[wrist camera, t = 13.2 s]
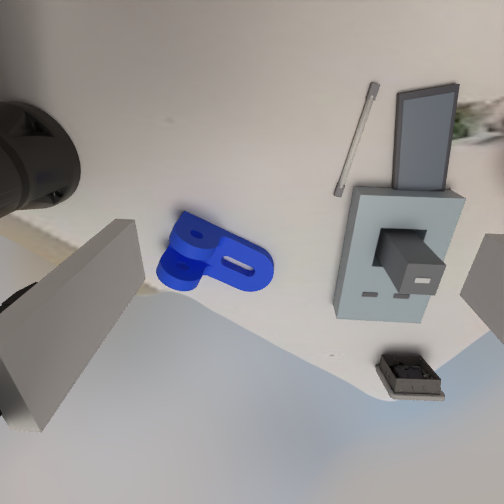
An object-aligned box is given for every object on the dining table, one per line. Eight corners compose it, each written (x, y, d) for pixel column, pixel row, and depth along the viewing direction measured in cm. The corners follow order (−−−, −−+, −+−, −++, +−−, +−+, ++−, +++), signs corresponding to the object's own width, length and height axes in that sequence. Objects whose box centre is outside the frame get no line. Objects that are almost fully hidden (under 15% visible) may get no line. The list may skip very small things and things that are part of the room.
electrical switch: (374, 367, 63) (389, 406, 54) (377, 348, 61) (394, 384, 52) (420, 369, 62) (444, 408, 54) (425, 349, 60) (450, 386, 51)
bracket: (168, 250, 53) (149, 278, 45) (184, 210, 49) (167, 234, 41) (260, 291, 56) (257, 325, 48) (282, 257, 52) (283, 287, 44)
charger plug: (372, 249, 49) (399, 294, 39) (378, 224, 47) (408, 264, 37) (400, 250, 49) (435, 296, 38) (408, 225, 47) (447, 266, 36)
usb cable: (340, 195, 46) (341, 197, 45) (333, 194, 46) (334, 196, 45) (378, 84, 39) (380, 84, 38) (370, 82, 39) (372, 82, 38)
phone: (391, 197, 45) (393, 200, 44) (396, 93, 39) (399, 94, 38) (441, 191, 44) (444, 193, 44) (455, 83, 38) (460, 83, 37)
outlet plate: (332, 304, 56) (336, 319, 52) (353, 186, 45) (360, 195, 41) (411, 308, 55) (420, 324, 51) (451, 189, 44) (466, 199, 41)
